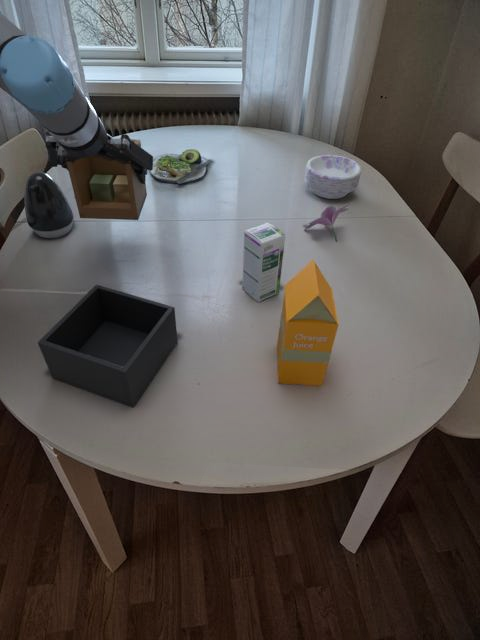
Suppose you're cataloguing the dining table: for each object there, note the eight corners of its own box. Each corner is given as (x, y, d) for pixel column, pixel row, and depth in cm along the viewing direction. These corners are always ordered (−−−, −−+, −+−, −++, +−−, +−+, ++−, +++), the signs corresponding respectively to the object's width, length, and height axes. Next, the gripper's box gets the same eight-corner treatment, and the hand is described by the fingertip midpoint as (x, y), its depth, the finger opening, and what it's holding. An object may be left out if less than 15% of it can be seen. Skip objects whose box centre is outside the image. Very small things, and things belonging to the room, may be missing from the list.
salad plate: (206, 190, 123) (206, 174, 120) (144, 186, 123) (142, 171, 120) (213, 162, 137) (212, 147, 134) (157, 158, 137) (156, 144, 134)
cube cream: (116, 201, 89) (112, 183, 86) (120, 192, 92) (117, 174, 89) (135, 202, 89) (132, 184, 86) (138, 193, 92) (136, 175, 89)
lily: (351, 230, 112) (343, 194, 109) (364, 238, 101) (355, 197, 98) (306, 244, 113) (297, 208, 110) (314, 253, 102) (304, 214, 99)
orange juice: (318, 348, 79) (338, 259, 66) (322, 386, 73) (347, 296, 59) (275, 346, 80) (287, 256, 66) (277, 383, 73) (290, 293, 59)
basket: (52, 378, 72) (37, 342, 66) (105, 319, 83) (96, 284, 77) (133, 407, 69) (125, 372, 63) (177, 342, 79) (174, 306, 73)
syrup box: (258, 303, 88) (263, 243, 78) (240, 288, 91) (243, 228, 81) (279, 293, 91) (287, 234, 81) (261, 279, 94) (267, 220, 84)
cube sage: (92, 201, 89) (88, 182, 86) (97, 192, 92) (94, 174, 89) (112, 201, 89) (108, 183, 86) (116, 192, 92) (113, 174, 89)
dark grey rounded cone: (26, 245, 100) (4, 183, 90) (40, 221, 108) (21, 162, 97) (70, 245, 101) (54, 184, 90) (81, 222, 108) (66, 163, 98)
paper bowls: (301, 201, 120) (305, 173, 115) (304, 177, 131) (308, 151, 126) (356, 207, 119) (362, 180, 113) (355, 183, 130) (361, 157, 124)
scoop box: (80, 218, 86) (65, 159, 78) (93, 193, 93) (81, 137, 85) (138, 220, 86) (129, 161, 78) (147, 195, 94) (140, 139, 85)
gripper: (-5, 146, 66) (54, 192, 88) (151, 152, 66) (171, 196, 88) (-3, 97, 66) (55, 155, 88) (153, 104, 67) (172, 160, 88)
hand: (113, 176), depth 88 cm, fingers closed on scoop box, 12 cm apart
